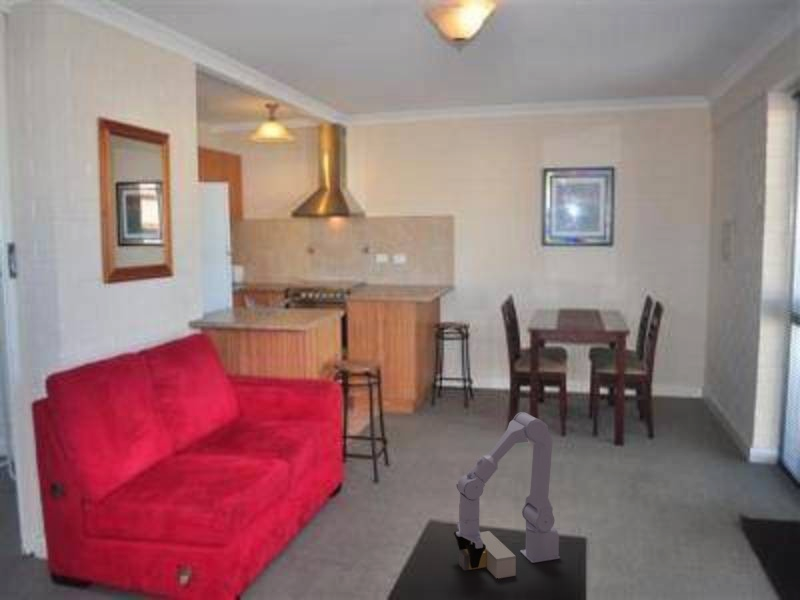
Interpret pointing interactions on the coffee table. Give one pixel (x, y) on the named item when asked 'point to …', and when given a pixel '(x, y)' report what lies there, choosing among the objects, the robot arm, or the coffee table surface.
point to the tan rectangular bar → (465, 560)
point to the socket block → (498, 556)
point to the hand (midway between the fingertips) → (469, 561)
